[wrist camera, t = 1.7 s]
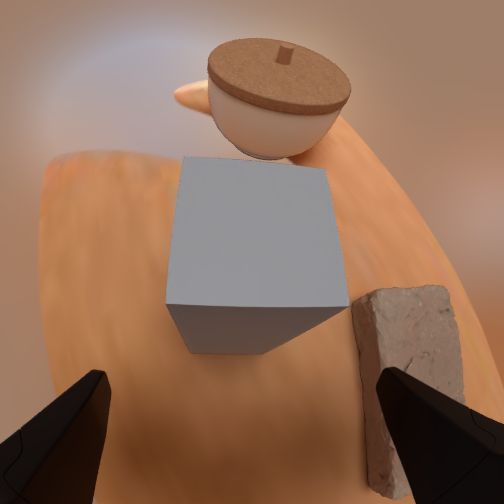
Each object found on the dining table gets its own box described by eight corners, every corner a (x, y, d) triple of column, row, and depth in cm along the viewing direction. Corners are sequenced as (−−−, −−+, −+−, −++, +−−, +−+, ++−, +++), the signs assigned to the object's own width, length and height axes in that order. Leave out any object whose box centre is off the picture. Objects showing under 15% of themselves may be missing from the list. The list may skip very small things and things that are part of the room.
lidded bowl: (283, 97, 33) (304, 23, 23) (342, 166, 29) (388, 85, 19) (187, 114, 29) (189, 25, 19) (234, 197, 25) (254, 89, 15)
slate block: (263, 354, 19) (349, 306, 8) (190, 353, 19) (165, 303, 7) (260, 287, 21) (325, 169, 10) (192, 284, 21) (183, 156, 9)
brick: (345, 301, 22) (374, 282, 18) (419, 294, 24) (451, 276, 20) (361, 490, 15) (393, 506, 11) (435, 457, 17) (470, 462, 13)
